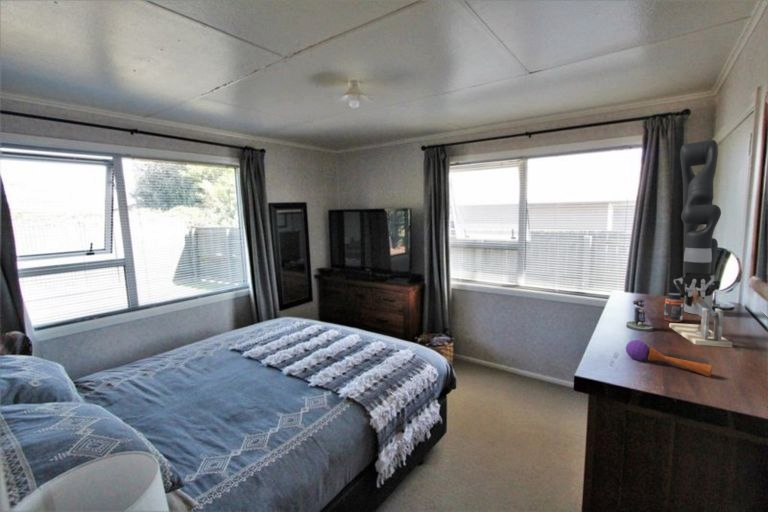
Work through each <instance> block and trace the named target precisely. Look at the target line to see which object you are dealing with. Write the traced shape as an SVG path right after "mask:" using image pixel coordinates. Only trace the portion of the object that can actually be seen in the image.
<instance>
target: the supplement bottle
mask: <svg viewBox="0 0 768 512" xmlns="http://www.w3.org/2000/svg"><path fill="white" fill-rule="evenodd" d="M667 296H668V297H667V298H665V299H664V300H665V301H664V312H663V313H664V314H663V319H664V320H665V321H667V322H670V323H680V322H682V321H683V316H684V313H683V312H684V300H683V299H682V297H681V296H682V294H680V293H679V292H678V293H676V292H669V293H668V295H667Z"/></svg>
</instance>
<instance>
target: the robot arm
mask: <svg viewBox="0 0 768 512" xmlns="http://www.w3.org/2000/svg"><path fill="white" fill-rule="evenodd" d="M718 153H719V147H718V143H717V141H716V140H714V139H707V140H706V139H705V140H701V141H696V142H694V141H693V142H690V143H684V144H683V145H682V146H681V147H680V155H679V157H680V166H681V175H682V189H683V190H682V206H683V207H682V211H681V215H680V218H681V221H682V222H683V223H684V224H683V225H684V232H683V236H684V237H683V264H682V265H683V266H682V267H683V268H682V275H681V277H680V278H677V279H676V278H673V279H672V282H673V284H674V286H675V287H676V289H677V292H678V294H681V296H682V295H683V296H684V302H683V312H685V313H689V314H692V315H699V314H698V313H699V309H700V308H699V307H698V306H697V305H694V304H693V303H692V297H691V296H692V293H693V291H695V292H696V293H698V294H699V295H700V296H701V297H702V298H703V299H704V302H705V303H706V304H707V305H708V306H709V307H710V308H711V309H712V310H713V301H714V300H713V299H714V292H715V290H716V289H717V288H718V286H719V285H720V283H721V282H720V281H718V280H715V273H716V263H717V262H716V261H717V254H718V248H719V246H718V245H719V244H718V241H717V239H716V238H714V237H713V235H714V232H715V229H716V227H717V225H718V222H719V220H720V218H721V215H722V211H721V208H720V207H719V205H716V204H713V201H714V179H715V175H716V171H717V170H716V169H717V166H718V165H717V164H718V157H719V154H718ZM703 165H704V166H703ZM695 166H703V168H701V170H700V171H699V172H698V173H697V174H695V172H694V170H693V168H692V167H695ZM701 225H705V227H704V228H703V229H699V227H700V226H701ZM698 229H699V230H698ZM683 283H684V284H685V287H684V286H683ZM699 316H700V315H699Z"/></svg>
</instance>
